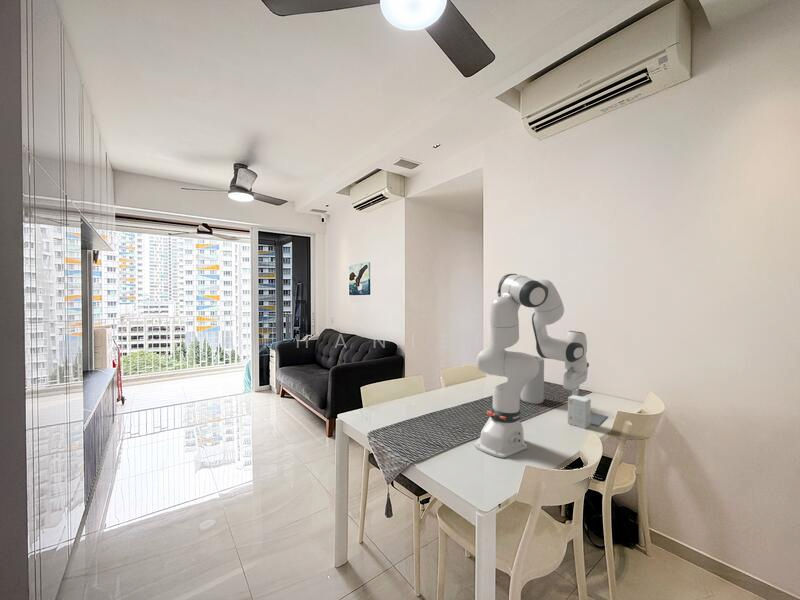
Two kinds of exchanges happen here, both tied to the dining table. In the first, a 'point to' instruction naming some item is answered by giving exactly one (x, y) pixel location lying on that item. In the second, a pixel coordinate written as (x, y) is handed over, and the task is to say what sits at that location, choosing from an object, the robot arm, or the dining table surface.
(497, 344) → the robot arm
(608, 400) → the dining table surface
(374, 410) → the dining table surface
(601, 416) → the mat
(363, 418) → the dining table surface
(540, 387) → the cylinder vase
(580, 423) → the small box
